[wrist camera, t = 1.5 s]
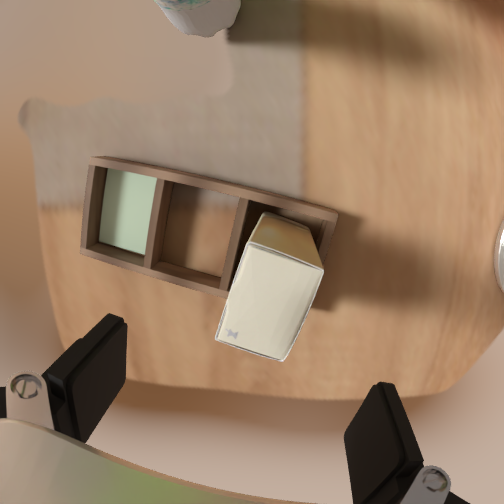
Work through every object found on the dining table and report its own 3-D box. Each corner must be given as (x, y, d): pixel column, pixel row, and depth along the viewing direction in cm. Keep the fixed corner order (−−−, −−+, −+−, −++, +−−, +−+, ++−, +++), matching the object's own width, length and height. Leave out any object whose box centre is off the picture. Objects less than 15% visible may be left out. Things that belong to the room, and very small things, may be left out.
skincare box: (285, 288, 29) (283, 369, 17) (240, 272, 29) (211, 344, 18) (311, 223, 27) (329, 270, 16) (264, 206, 27) (246, 240, 16)
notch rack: (334, 209, 27) (338, 214, 24) (303, 306, 29) (304, 319, 27) (104, 156, 27) (90, 156, 25) (93, 247, 30) (80, 253, 28)
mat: (165, 179, 28) (163, 179, 27) (152, 255, 30) (150, 256, 29) (110, 167, 28) (107, 168, 27) (101, 240, 30) (98, 241, 30)
